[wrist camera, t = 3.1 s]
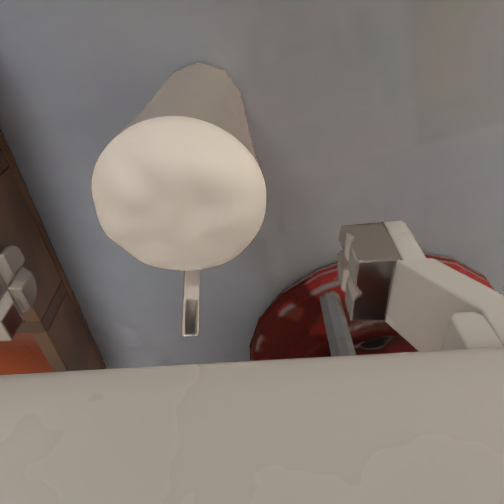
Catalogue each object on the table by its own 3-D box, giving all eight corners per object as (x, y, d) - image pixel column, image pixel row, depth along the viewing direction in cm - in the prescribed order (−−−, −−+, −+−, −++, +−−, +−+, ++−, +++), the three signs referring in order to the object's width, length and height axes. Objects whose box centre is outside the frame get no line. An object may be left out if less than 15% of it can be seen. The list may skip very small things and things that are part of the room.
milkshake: (161, 172, 19) (106, 340, 11) (137, 46, 16) (37, 159, 8) (259, 167, 19) (272, 333, 11) (255, 40, 16) (269, 148, 8)
